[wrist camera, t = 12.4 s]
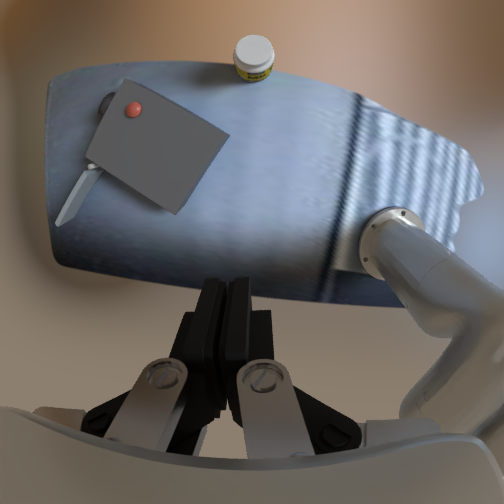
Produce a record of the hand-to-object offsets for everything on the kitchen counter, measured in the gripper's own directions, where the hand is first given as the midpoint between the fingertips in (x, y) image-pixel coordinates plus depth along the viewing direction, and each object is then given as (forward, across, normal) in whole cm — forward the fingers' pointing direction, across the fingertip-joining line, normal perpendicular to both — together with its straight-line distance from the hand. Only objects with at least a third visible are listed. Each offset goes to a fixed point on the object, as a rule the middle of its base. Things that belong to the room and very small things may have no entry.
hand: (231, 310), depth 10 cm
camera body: (+29, +13, -7) cm, 33 cm away
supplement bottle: (+29, -2, -17) cm, 34 cm away
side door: (+29, +27, -2) cm, 40 cm away
